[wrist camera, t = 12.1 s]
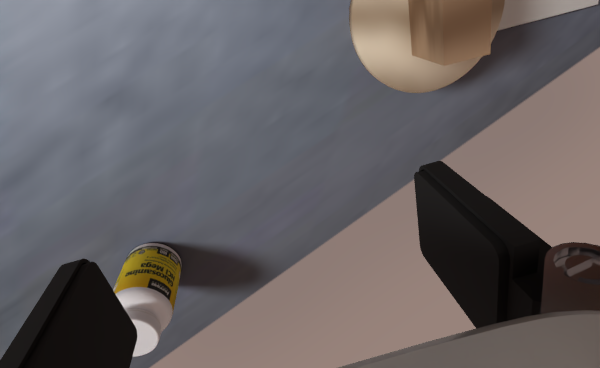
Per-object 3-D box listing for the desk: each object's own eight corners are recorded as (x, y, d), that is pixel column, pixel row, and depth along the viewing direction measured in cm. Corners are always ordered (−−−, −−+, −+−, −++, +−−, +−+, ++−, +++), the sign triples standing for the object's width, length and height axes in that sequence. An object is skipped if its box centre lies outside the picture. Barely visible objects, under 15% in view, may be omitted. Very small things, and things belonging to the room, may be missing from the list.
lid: (337, -62, 28) (363, -76, 22) (502, -101, 28) (568, -125, 23) (360, 106, 34) (385, 128, 28) (496, 71, 34) (547, 85, 29)
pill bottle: (188, 247, 43) (175, 319, 34) (175, 287, 46) (159, 366, 36) (132, 235, 42) (101, 308, 32) (121, 277, 44) (89, 358, 34)
